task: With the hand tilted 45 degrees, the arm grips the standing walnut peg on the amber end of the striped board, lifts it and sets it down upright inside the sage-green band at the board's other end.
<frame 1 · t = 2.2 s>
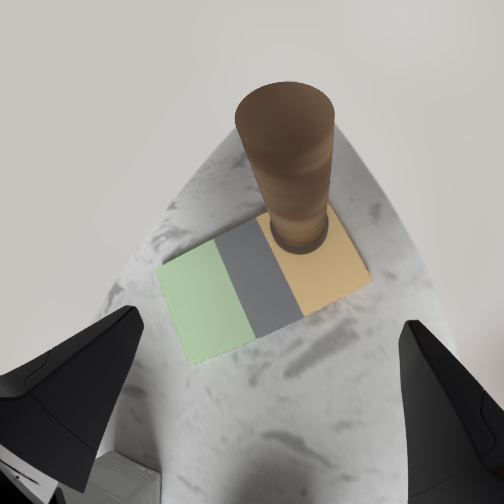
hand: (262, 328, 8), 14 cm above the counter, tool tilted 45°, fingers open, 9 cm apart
skincare box: (140, 487, 19), on the counter
walnut peg: (299, 227, 22), point 1 cm above the counter, touching striped board
striped board: (258, 278, 23), on the counter
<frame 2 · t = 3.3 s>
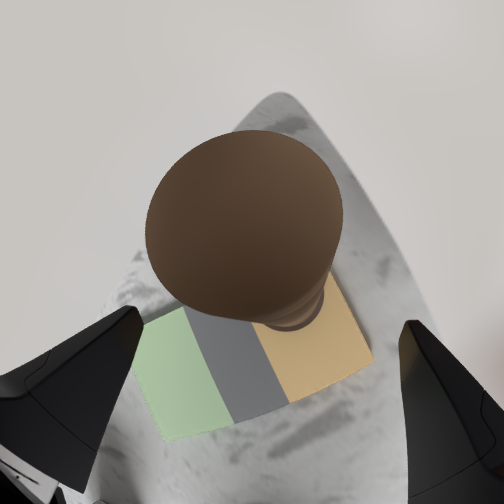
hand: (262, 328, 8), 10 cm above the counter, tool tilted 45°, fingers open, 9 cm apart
walnut peg: (287, 295, 17), point 1 cm above the counter, touching striped board
striped board: (237, 353, 18), on the counter
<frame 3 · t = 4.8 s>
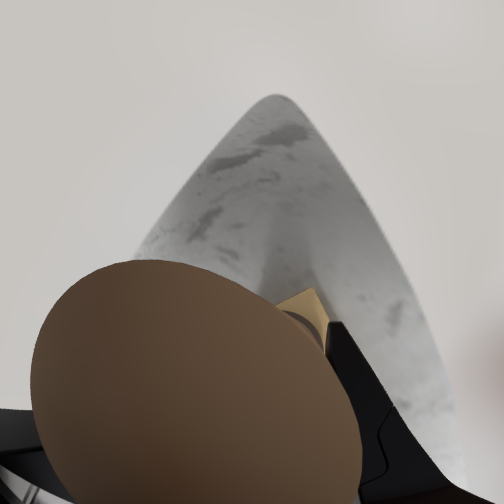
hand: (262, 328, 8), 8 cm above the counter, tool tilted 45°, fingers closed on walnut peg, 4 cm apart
walnut peg: (280, 352, 14), point 1 cm above the counter, touching gripper, striped board
striped board: (224, 408, 15), on the counter
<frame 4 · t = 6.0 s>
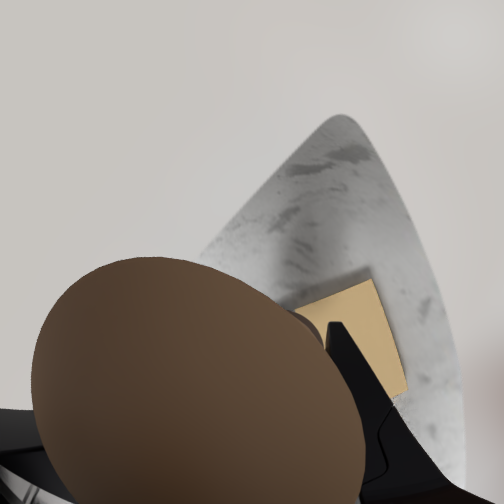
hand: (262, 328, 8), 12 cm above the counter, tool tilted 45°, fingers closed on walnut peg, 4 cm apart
walnut peg: (280, 352, 14), point 6 cm above the counter, touching gripper
striped board: (289, 374, 19), on the counter
when the fingers open (8 cm above the counter, at t = 7.5 s): walnut peg stays where it is, resting on striped board.
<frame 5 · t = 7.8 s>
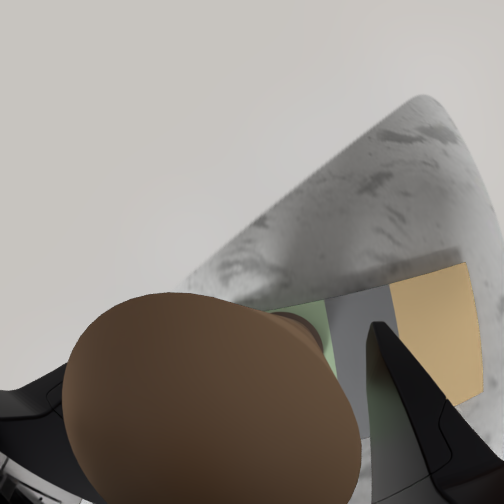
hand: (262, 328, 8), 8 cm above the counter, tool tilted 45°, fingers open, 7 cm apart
walnut peg: (281, 352, 15), point 1 cm above the counter, touching striped board
striped board: (366, 365, 15), on the counter
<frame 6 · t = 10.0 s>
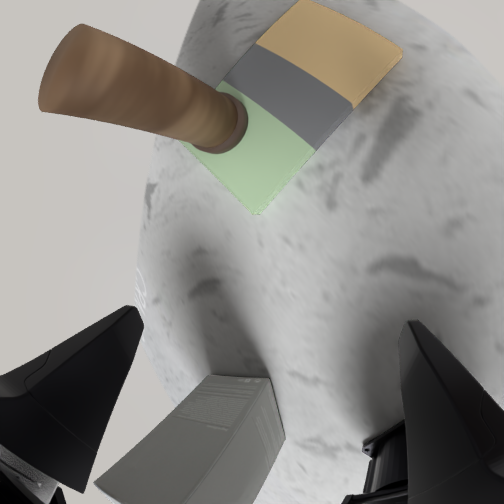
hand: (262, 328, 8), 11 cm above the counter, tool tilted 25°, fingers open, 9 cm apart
skincare box: (253, 408, 23), on the counter
walnut peg: (219, 124, 18), point 1 cm above the counter, touching striped board
striped board: (286, 93, 17), on the counter
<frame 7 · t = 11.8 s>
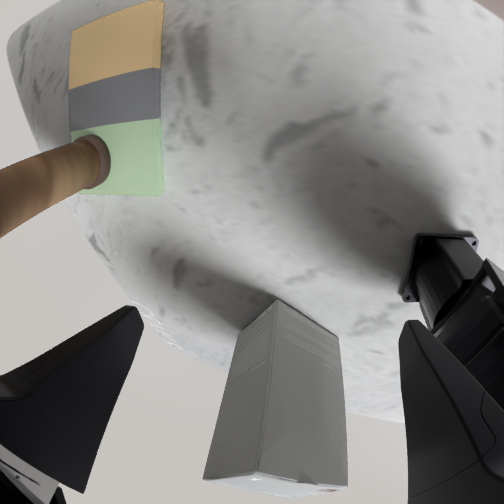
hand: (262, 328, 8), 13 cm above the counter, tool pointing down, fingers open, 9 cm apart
skincare box: (293, 332, 26), on the counter
walnut peg: (91, 160, 19), point 1 cm above the counter, touching striped board
striped board: (113, 100, 18), on the counter
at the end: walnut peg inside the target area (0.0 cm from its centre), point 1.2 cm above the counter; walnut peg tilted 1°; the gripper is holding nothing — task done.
